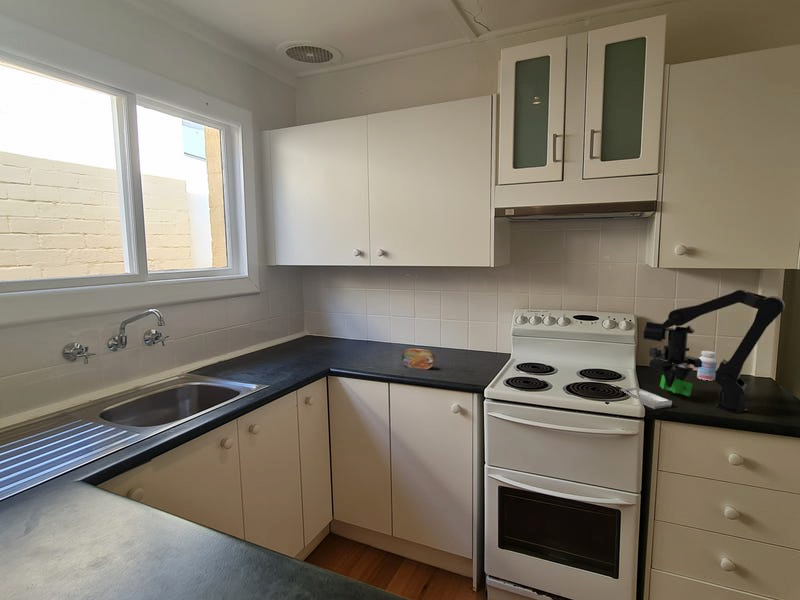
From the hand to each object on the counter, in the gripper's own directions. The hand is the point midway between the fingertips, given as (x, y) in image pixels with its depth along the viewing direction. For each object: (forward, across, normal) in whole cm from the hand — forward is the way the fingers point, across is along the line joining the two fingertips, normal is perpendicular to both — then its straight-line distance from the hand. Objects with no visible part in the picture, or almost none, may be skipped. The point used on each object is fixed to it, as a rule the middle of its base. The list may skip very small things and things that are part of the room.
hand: (673, 386), depth 157 cm
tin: (+4, +74, -62) cm, 97 cm away
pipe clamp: (+2, 0, 0) cm, 2 cm away
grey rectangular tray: (+4, +13, 0) cm, 13 cm away
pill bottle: (+4, -32, -12) cm, 34 cm away
